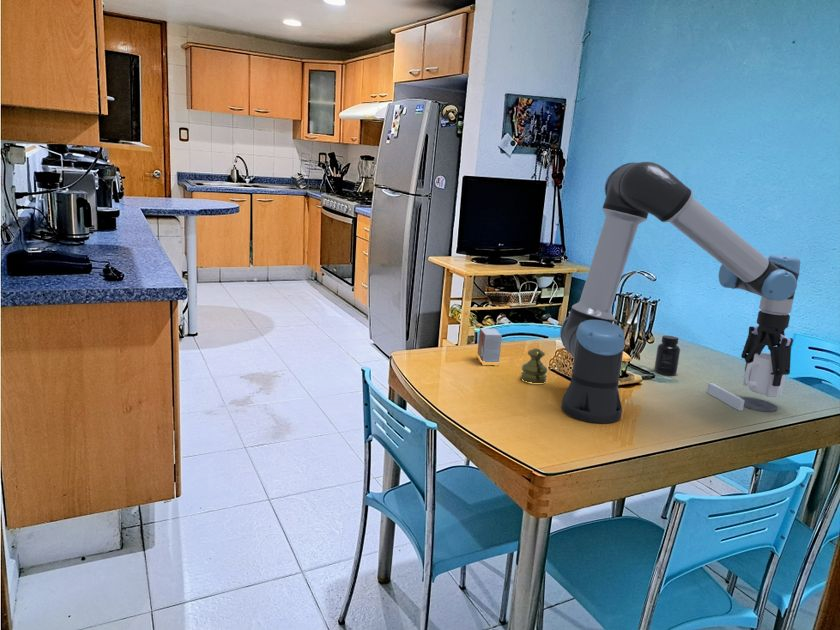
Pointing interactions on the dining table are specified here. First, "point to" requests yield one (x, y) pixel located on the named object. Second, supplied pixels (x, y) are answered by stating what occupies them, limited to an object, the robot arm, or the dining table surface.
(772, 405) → the coaster
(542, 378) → the olive green tiered piece
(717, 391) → the acrylic wall
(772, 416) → the dining table surface
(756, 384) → the cup
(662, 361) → the supplement bottle
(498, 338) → the small box
